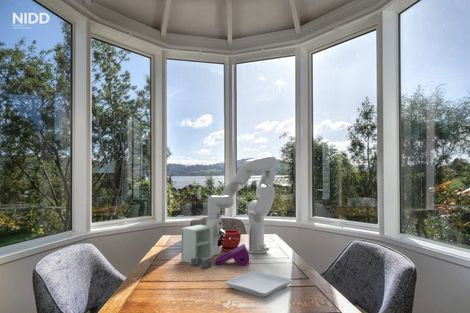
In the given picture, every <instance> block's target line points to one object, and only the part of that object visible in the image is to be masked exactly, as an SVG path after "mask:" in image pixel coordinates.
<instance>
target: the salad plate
mask: <svg viewBox="0 0 470 313" xmlns="http://www.w3.org/2000/svg"><path fill="white" fill-rule="evenodd" d="M292 281H293V280H292V279H289V278H286V277H283V276H278V275H275V274H272V273H271V274H270V273H266V272H262V271H261V272H260V271H256V270H251V271H249V272H246V273H243V274H241V275H238V276H236V277H234V278H231V279H228V280H226V281H225V282H224V283H225V285H227V287H229V288H231V289H234V290H236V291H239V292H243V293H247V294H250V295H253V296H256V297H261V298H262V297H263V298H265V297H267V296H269V295H272V294H274V293H275V292H277V291H279V290H281V289H283V288H285V287H287V286H289V285H290V284H291V282H292Z"/></svg>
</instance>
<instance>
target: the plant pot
mask: <svg viewBox="0 0 470 313" xmlns="http://www.w3.org/2000/svg"><path fill="white" fill-rule="evenodd" d="M223 231H225V232H226V234H225V236H224V238H223V239H222V246H221V251H223V252H225V253H227V252H229V251H231V250H233V249H235V248H237V247H239V246H240V244H241V243H240V242H241V239H242V238H241V235H242V233H241V231H240V230H236V229H235V230H233V229H226V230H223Z"/></svg>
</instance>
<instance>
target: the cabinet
mask: <svg viewBox="0 0 470 313" xmlns="http://www.w3.org/2000/svg"><path fill="white" fill-rule="evenodd" d="M212 257H213V256H212V226H206V225H203V224H196V225H189V226H186V227H182V228H181V259H180V260H181V262H183V263H184V262H185V263H188V264H191V258H195V259H196V264H197V258H200V259H201V260H204V261H207V260H210V259H212Z"/></svg>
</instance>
